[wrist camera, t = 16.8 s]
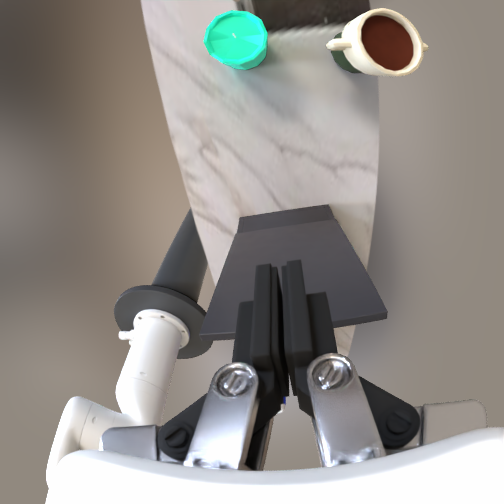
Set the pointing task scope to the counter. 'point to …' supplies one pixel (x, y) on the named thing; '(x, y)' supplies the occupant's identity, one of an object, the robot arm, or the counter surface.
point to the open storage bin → (285, 218)
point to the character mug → (378, 45)
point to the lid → (314, 272)
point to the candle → (237, 39)
